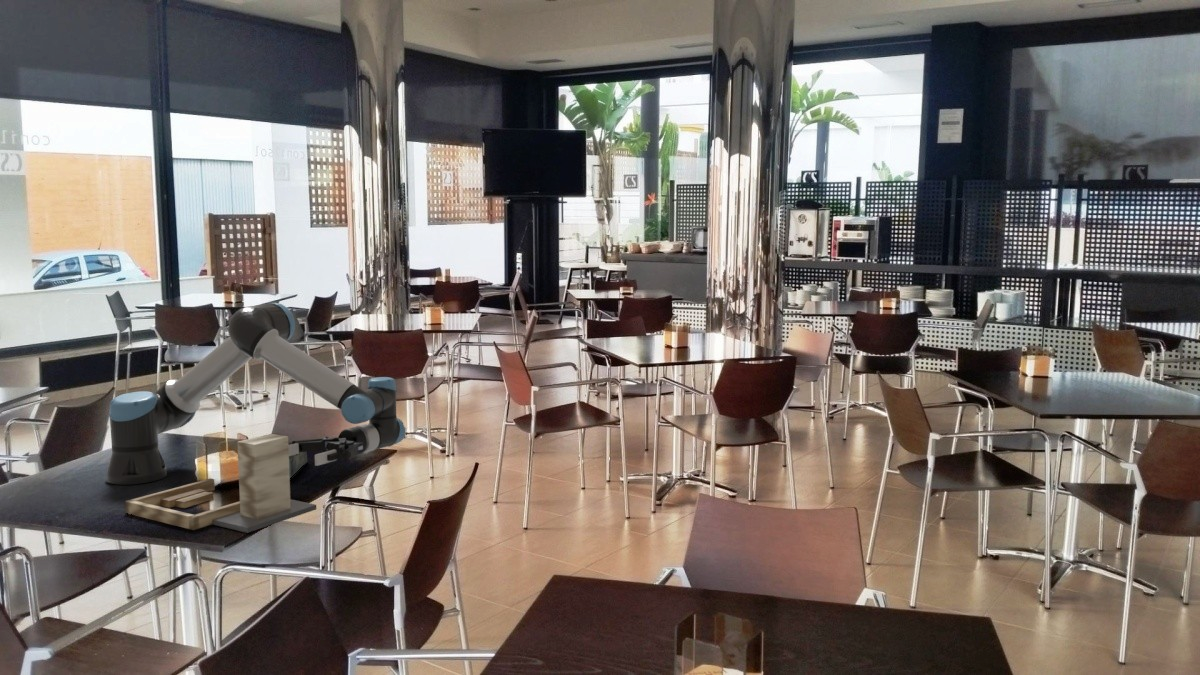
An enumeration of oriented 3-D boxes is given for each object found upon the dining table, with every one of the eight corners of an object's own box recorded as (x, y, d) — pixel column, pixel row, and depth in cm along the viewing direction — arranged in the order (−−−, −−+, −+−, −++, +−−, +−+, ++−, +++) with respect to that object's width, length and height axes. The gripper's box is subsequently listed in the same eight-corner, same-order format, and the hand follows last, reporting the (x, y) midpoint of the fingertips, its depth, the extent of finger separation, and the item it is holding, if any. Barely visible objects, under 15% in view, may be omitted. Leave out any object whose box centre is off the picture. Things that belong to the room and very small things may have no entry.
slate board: (212, 524, 223) (212, 519, 223) (282, 502, 241) (282, 497, 241) (247, 532, 217) (247, 527, 217) (316, 509, 235) (316, 504, 235)
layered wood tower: (240, 515, 226) (237, 441, 224) (273, 504, 235) (271, 433, 233) (257, 519, 223) (254, 444, 221) (290, 508, 232) (288, 436, 230)
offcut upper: (176, 508, 237) (175, 500, 237) (205, 499, 245) (205, 491, 245) (184, 509, 236) (184, 501, 236) (213, 500, 244) (213, 492, 244)
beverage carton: (262, 480, 263) (261, 457, 262) (281, 463, 282) (280, 441, 281) (291, 479, 263) (291, 456, 263) (308, 462, 282) (307, 441, 282)
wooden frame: (125, 513, 232) (125, 501, 231) (210, 489, 253) (210, 478, 252) (193, 530, 219) (193, 517, 219) (277, 503, 240) (276, 492, 240)
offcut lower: (160, 507, 238) (160, 498, 238) (197, 496, 248) (197, 488, 247) (169, 509, 236) (169, 500, 236) (206, 498, 246) (206, 490, 246)
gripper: (393, 459, 249) (332, 478, 231) (325, 448, 261) (263, 465, 243) (392, 431, 248) (331, 448, 230) (324, 421, 261) (261, 436, 242)
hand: (296, 456), depth 236 cm, fingers open, 13 cm apart
